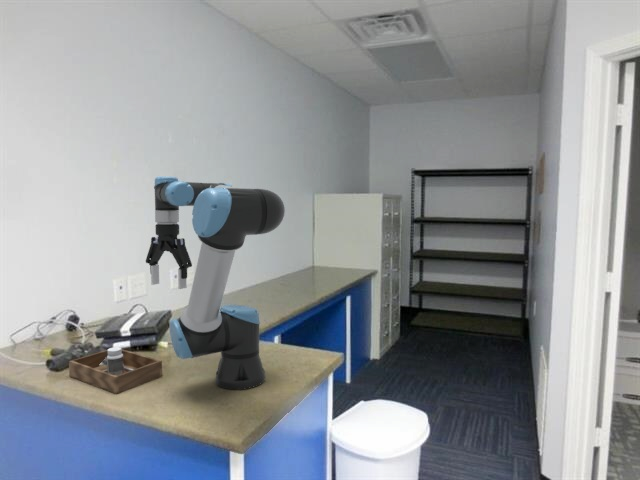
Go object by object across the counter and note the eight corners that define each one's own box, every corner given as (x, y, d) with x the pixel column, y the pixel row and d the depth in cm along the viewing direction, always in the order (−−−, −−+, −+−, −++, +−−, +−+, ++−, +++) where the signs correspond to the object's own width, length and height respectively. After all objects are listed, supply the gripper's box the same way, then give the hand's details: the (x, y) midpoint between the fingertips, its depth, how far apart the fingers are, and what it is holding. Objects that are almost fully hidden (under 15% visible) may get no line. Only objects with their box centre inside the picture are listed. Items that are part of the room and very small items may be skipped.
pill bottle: (126, 374, 141) (125, 348, 141) (112, 378, 138) (111, 352, 137) (119, 370, 144) (118, 345, 143) (104, 375, 140) (103, 349, 140)
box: (162, 376, 141) (161, 360, 141) (116, 394, 128) (115, 377, 127) (115, 361, 154) (115, 347, 154) (69, 376, 140) (68, 361, 140)
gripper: (202, 224, 145) (203, 288, 147) (152, 221, 158) (153, 280, 160) (184, 225, 139) (185, 292, 141) (133, 222, 152) (135, 284, 154)
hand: (168, 286), depth 151 cm, fingers open, 13 cm apart
